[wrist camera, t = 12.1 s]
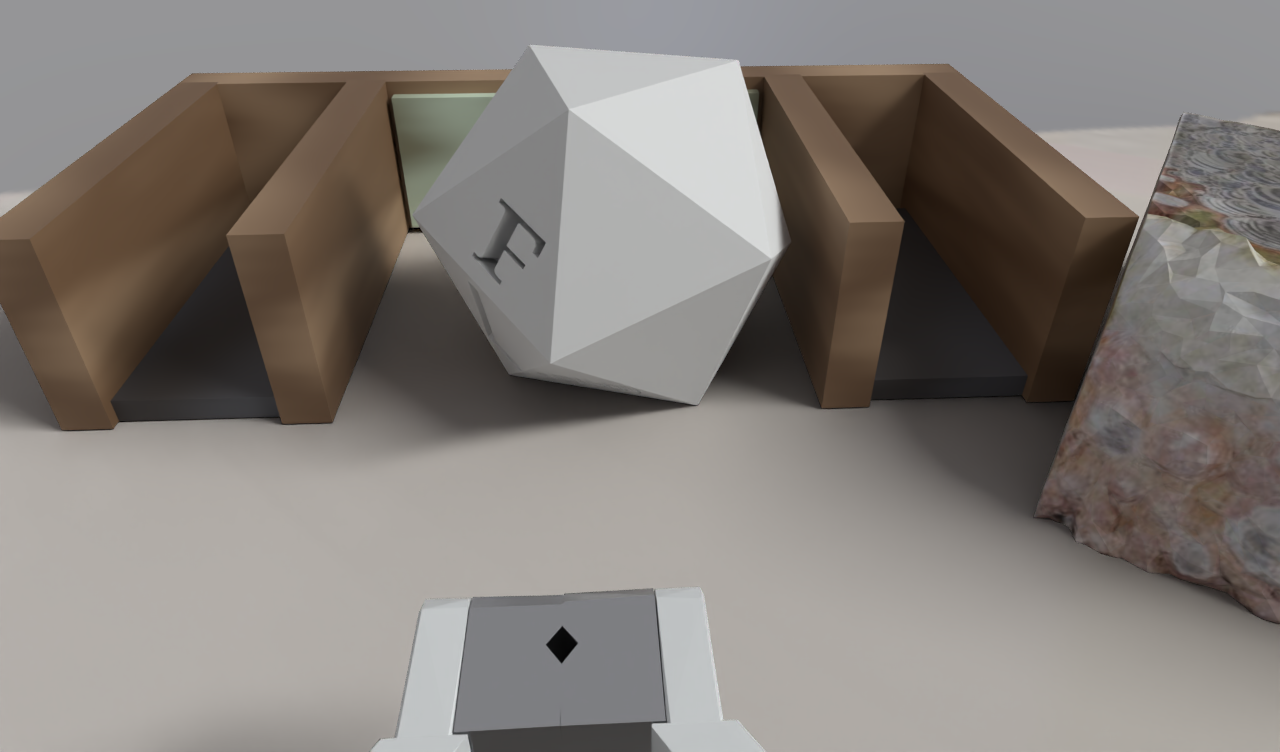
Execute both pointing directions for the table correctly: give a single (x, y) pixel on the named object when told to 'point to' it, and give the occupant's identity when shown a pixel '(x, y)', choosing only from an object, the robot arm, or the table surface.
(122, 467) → the table surface
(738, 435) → the table surface
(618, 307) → the die
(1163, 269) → the geological specimen
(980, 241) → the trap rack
